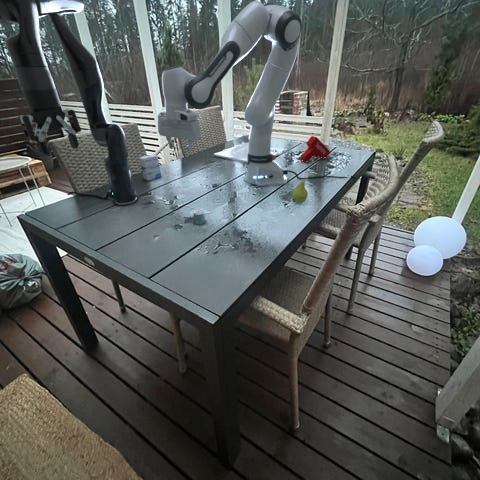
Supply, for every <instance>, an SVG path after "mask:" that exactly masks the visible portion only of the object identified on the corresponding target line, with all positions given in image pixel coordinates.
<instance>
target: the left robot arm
mask: <svg viewBox="0 0 480 480" xmlns="http://www.w3.org/2000/svg"><path fill="white" fill-rule="evenodd" d="M84 8H85V0H0V24H5V25H14V24H15V25H18V32H17V34H14V35H12V36H8V37H7V38H6V39H5V41H4V42H5V47H6V50H7V53H8V55H9V58H10V60H11V62H12V65H13V67H14V71H15V75H16V79H17V81H18V85H19V87H20V89H21V92H22V94H23V97H24V99H25V102H26V104H27V107H28V109H29V111H30V115H24V114H20V115H18V118H17V119H18V120H19V123H20V126H21V129H22V132H23V135H24V139H26V140H27V141H32V142H35V144H36V146H37V149H38V151H39V153H40V154H42V155H43V156H46V157H48V156H50V155H51V154H50V151H49V148H48V145H47V143H46V141H44V140H45V137H46V135H47V134H48V131H54V130H62V131H64V132H65V133H66V134H67V138H68V141H69V144H70V148H72V149H73V150H74V149H75V150H77V149H79V146H80V145H79V141H78V138H77V137H78V136H77V134H78V133H80V132H81V131H82V128H81V126H80V122H79V120H78V117H77V114H76V111H75V110H74V109H70V108H69V109H68V108H67V109H65V110H64V109H63V107H62V103H61V100H60V96H59V93H58V91H57V88H56V84H55V81H54V78H53V75H52V74H51V70H49V67H48V63H47V59H46V58H45V55H44V51H43V48H42V42H41V32H40V18H43V17H46V16H48V17H49V19H50V22H51V24H52V26H53V28H54V30H55V32H56V36H57V38H58V40H59V43H60V46H61V48H62V50H63V53H64V56H65V59H66V61H67V64H68V68H69V70H70V74H71V76H72V78H73V81H74V84H75V87H76V89H77V92H78V94H79V97H80V100H81V102H82V106H83V108H84V112H85V115H86V118H87V123H88V126H89V130H90V134H91V137H92V139H93V141H94V142H95V143H96V144H97V145H98V146H100V147H105V148H107V153H108V155H105V156H104V158H103V163H104V164H103V165H104V167H105V171H106V174H107V178H108V186H109V190H106V195H105V197H103V196H100V195H98V194H95V193H94V194H93V193H83V192H77V191H73V190H72V191H69V192H68V193H67V196H70V195H71V194H75V195H77V196H78V195H79V196H86V197H96V198H99V199H101V200H107V199H108V198H109V199H112V200H113V202H114V203H115V204H116V206H117V205H118V206H128V205H133V204H134V203H136V202H138V201H137V200H138V197H137V195H136V194H137V192H136V189H135V186H134V181H133V178H132V173H131V169H130V164H129V160H128V158H129V150H128V146H127V139H126V134H125V132H124V130H123V128H122V127H121V126H120V125H119V124H117V123H114V122H108V121H107V119H106V116H105V111H104V108H103V100H104V99H103V98H104V89H105V87H104V80H103V76H102V73H101V70H100V67H99V64H98V61H97V60H96V58H95V57H94V56H93V54H92V53H91V52H90V51H89V50H88V49H87V48H86V46H85V45H84V44H83V43H82V42H81V41H80V40H79V39H78V38H77V36H76V35H75V33H74V32H73V30H72V28H71V26H70V24H69V23H68V21H67V19H66V16H65V15H67V14H77V13H80V12H82V11H83V10H84ZM65 119H67V120H68V122H69V123H68V122H67V121H65ZM33 122H34V123H35V124H36V125H35V128H34V130H33V126H32V124H33Z"/></svg>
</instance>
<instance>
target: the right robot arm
mask: <svg viewBox="0 0 480 480" xmlns="http://www.w3.org/2000/svg"><path fill="white" fill-rule="evenodd" d="M302 29H303V23H302V19H301V17H300V16H299V14H298V13H297V12H296V11H295V10H292V9H289V8H288V7H286V6H284V5H279V4H275V3H273V2H272V3H271V2H270V3H269V2H268V3H265V4H264V3H262V2H261V1H259V0H252V1H251V2H249V3H248V4H247V5H245V7H244V8H242V9H241V10H240V11H239V12H238V13H237V15H236V16H235V17H234V18H233V20H232V21H231V22H230V24H229V25H228V26H227V28H226V30H225V31H224V33H223V35H222V37H221V40H220V47H219V49H218V52H217V54H216V56H215V57H214V58H213V59H212V61H211V62H210V63H209V65H208V66H207V67H206V68H205V70H204V71H203V72H202V73H201V74H199V75H198V76H197V75H194V74H192V73H190V72H188V71H187V70H186V69H184V68H183V67H182V66H179V65H178V66H177V65H176V66H171V67H168V68H165V69H164V70H163V72H162V74H161V85H162V94H163V97H164V109H165V110H164V111H165V112H163V111H160V112H159V113H158V115H157V129H158V130H157V132H158V134H159V136H160V137H161V136H162V137H165V139H166V141H167V142H168V145H169V146H168V147H169V148H174V147H176V145H175V142H173V140H172V139H173V138H175V139H181V140H187V142H188V145H186V150H187V151H192V150H193V144H194V141H195V142H196V141H198V140H200V139H201V138H202V130H201V123H200V121H199V117H200V116H199V113H198V112H195V111H194V110H191V109H190V108H189V107H188V105H189V106H190V107H191V108H194V109H195V110H203V109H206V108H207V107H208V106H209V105H211V103H212V101H213V98H214V94H215V91H216V89H217V87H218V86H219V84H220V83H221V82H222V81H223V79H224V78H225V77H226V76H227V74H228V73H229V72H230V70H231V69H232V68H233V67H234V66H235V65H237V64H238V63H239V62H241V60H243V59H244V58H245V57H246V56H247V55H248V54H249V53H250V52H251V51H252V50H253V49H254V47H255V46H256V45H257V44H258V42H259V41H260V40H261V39H262V38H265V39H266V40H268V41H269V42H271V43H272V44H271V51H270V52H269V53H270V54H269V56H268V58H267V61H266V63H265V65H264V68H263V71H262V74H261V76H260V79H259V81H258V83H257V85H256V87H255V89H254V91H253V93H252V94H251V97H250V99H249V102H248V104H247V106H246V107H245V110H244V119H245V121H246V122H247V124H248V125H250V129H249V134H248V143H249V152H248V155H247V163H246V164H247V171H246V175H245V177H244V179H245V180H244V181H245V182H246V183H249V184H252V185H255V186H257V187H267V186H279V185H286V184H288V182H289V181H288V180H289V179H288V177H287V175H288V173H292V174H294V175H295V176H296V178H297V179H298V180H305V179H306V178H307V177H299V176H298V173H297V172H295V171H293V170H290V169H288V168H287V167H283V166H281V165H280V164H279V163H277V162H276V161H275V160H276V158H277V156H274V155H273V154H272V153H270V151H271V145H272V133H273V127H274V122H275V121H274V120H275V113H276V104H277V101H278V100H279V98H280V96H281V94H282V93H283V90H284V89H285V85H286V84H287V81H288V79H289V77H290V75H291V72H292V70H293V67H294V65H295V62H296V58H297V56H298V52H299V43H298V42H299V40H300V36H301V34H302ZM320 178H333V179H346V178H348V177H345V176H335V175H318V176H317V175H316V176H310V177H309V178H307V179H306V180H309V179H320ZM350 178H351V179H354V178H355V177H354V176H353V175H351V177H350Z"/></svg>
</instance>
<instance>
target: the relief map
mask: <svg viewBox="0 0 480 480" xmlns="http://www.w3.org/2000/svg"><path fill="white" fill-rule="evenodd" d="M248 152H249V141H247V142H245V141H243V142H242V143H241V144H238V145H236V146H232V147H230V148H229V147H228V148H227V149H226V148H224V149H222V151H219V152H215V153H213V156H214V157H218V158H222V159H227V160H230V161H231V160H232V161H236V162H242V163H246V164H248V163H247V155H248ZM270 153H272V154H273V155H274V156H275V157H277V156H279V155H280V153H279V152H277V151H272V150H270Z"/></svg>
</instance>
